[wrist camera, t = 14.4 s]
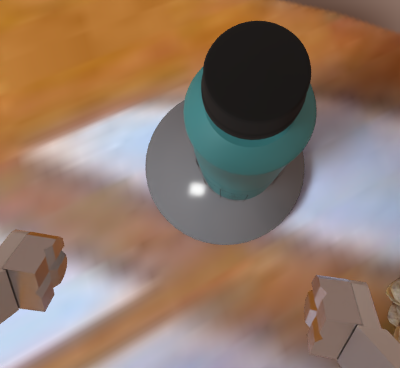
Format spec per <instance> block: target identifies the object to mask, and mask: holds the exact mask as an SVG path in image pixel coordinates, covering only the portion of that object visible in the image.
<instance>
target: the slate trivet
mask: <svg viewBox="0 0 400 368" xmlns="http://www.w3.org/2000/svg"><path fill="white" fill-rule="evenodd" d="M184 101H185V100H184ZM184 101H182V102H181V103H179V104H178V105H176V106H175V107H174V108H173V109H172V110H170V111H169V112H168V113H167V115H166V116H165V117H164V118H163V119H162V120H161V122H160V123H159V125H158V126H157V128H156V129H155V131H154V133H153V135H152V138H151V140H150V143H149V146H148V150H147V155H146V178H147V184H148V187H149V191H150V194H151V196H152V198H153V200H154V203H155V204H156V206H157V208H158V209H159V211H160V212H161V214H162V215H163V216H164V217H165V218H166V219H167V221H169V222H170V223H171V224H172V225H173V226H174V227H175V228H177V229H178V230H180V231H181V232H183V233H184V234H186V235H188V236H190V237H192V238H194V239H197V240H200V241H203V242H206V243H211V244H220V245H230V244H239V243H244V242H248V241H251V240H254V239H257V238H259V237H261V236H263V235H265V234H267V233H268V232H269V231H271V230H272V229H274V228H275V227H276V226H277V225H279V224H280V223H281V222H282V221H283V220H284V219H285V217H286V216H287V215H288V214H289V213H290V211H291V210H292V208H293V206H294V205H295V203H296V201H297V199H298V197H299V194H300V191H301V188H302V185H303V178H304V156H303V151H302V152H301V153H300V154H299V155H298V156H297V157H296V158H295V159H294V160H293V161H291V162H290V163H289V164H287V165H286V166H285V167H284V169H282V170H284V171H281V172H282V175H281V176H280V174H281V172H280V174H279V175H278V176H277V179H276V178H275V179H274V180H273V182H272V183H271V184H270V185H269V186H268V187H267V188H266V189H265V190H264V191H263V192H262V193H260V194H259V195H257V196H255V197H253V198H250V199H247V200H245V201H244V200H237V202H236V200H233V202H232V200H231V199H227V198H224V197H222V196H221V198H220V195H218V194H217V193H215V192H214V191H213V190H212V189H211V190H210V189H209V188H210V187H209V185H208V184H207V182H206V181H205V182H206V184H207V185H206V184H205V182H204V180H205V178H204V176H203V174H202V171H201V168H200V166H199V167H198V165H197V162H198V161H197V162H195V161H196V160H195V159H197V158H196V155H195V152H193V151H194V147H193V145H192V143H191V141H190V139H189V137H188V135H187V132H186V128H185V123H184V113H183V110H184ZM190 145H191V146H190ZM193 154H194V155H193ZM198 164H199V163H198ZM199 169H200V170H199ZM202 176H203V177H202ZM203 179H204V180H203ZM274 181H275V183H274ZM272 184H273V185H272ZM243 201H244V202H243Z"/></svg>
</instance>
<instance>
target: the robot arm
mask: <svg viewBox="0 0 400 368" xmlns="http://www.w3.org/2000/svg"><path fill="white" fill-rule="evenodd" d="M63 247H64V242H63V238H61V237H58V236H52V235H46V234H41V233H35V232H28V231H22V230H14V231H12V232H11V233H10V234H9V236H8V237H7V238H6V239H5V241H4V242H3V243H2V244H1V246H0V324H1V323H2V322H3V321H5V320H6V319H7V318H9V317H10V316H11V315H13V314H14V313H15V312H17V311H18V310H19V309H18V308H20V309H28V310H35V311H43V312H45V311H46V309H47V307H48V305H49V303H50V302H51V300H52V298H53V296H54V290H53V288H54V287H55V286H57V285H58V284H60V283H61V281H62V279H63V277H64V275H65V271H66V268H67V257H66V254H65V253H64V252H63V251H62V248H63ZM312 288H313V290H311V291H309V292H308V294H307V297H306V300H305V307H304V315H305V322H306V323H307V324H308V326H309V327H310V328H309V331H308V333H307V340H308V348H309V355H314V356H320V357H325V358H330V359H335V360H337V362H338V363H339V365H340V366H341V368H400V343H399V342H398V341H397V340H396V339H395V338H394V337H393V336H392V335H391V334H390V333H389V332H388V331H387V330H386V329H381V326H380V323H379V319H378V316H377V313H376V310H375V306H374V303H373V300H372V297H371V294H370V290H369V287H368V285H367V284H366V282H360V281H354V280H347V279H340V278H333V277H326V276H319V275H316V276H315V277H314V279H313V281H312Z"/></svg>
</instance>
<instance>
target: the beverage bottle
mask: <svg viewBox="0 0 400 368" xmlns="http://www.w3.org/2000/svg"><path fill="white" fill-rule="evenodd" d="M310 80H311V65H310V60H309V56H308V54H307V51H306V49H305V47H304V45H303V44H302V42H301V41H300V40H299V39H298V38H297V37H296V36H295V35H294V34H293V33H292V32H290V31H289V30H287V29H286V28H284V27H282V26H280V25H278V24H275V23H271V22H266V21H250V22H245V23H241V24H238V25H236V26H234V27H232V28H230V29H228V30H227V31H225V32H224V33H223V34H221V35H220V36H219V37H218V38H217V39H216V41H215V42H214V43H213V44H212V46H211V48H210V49H209V51H208V53H207V55H206V58H205V61H204V66H203V67H202V68H201V70H200V71H199V72H198V73H197V74H196V76H195V77H194V79H193V80H192V82H191V84H190V86H189V88H188V91H187V93H186V96H185V101H184V110H183V113H184V123H185V128H186V132H187V135H188V137H189V139H190V141H191V143H192V145H193V147H194V151H193V152H195V155H196V158H197V159H195V160H196V161H195V162H197V161H198V162H197V165H198V167H199V166H200V168H201V171H202V174H203V176H204V178H205V180H204V179H203V180H204V182H205V181H206V182H207V184H208V185H209V187H210V188H209V189H210V190H211V189H212V190H213V191H214V192H215V193H217V194H218V195H220V198H221V196H222V197H224V198H227V199H231V200H232V202H233V200H236V202H237V200H244V201H245V200H247V199H250V198H253V197H255V196H257V195H259V194H260V193H262V192H263V191H264V190H265V189H266V188H267V187H268V186H269V185H270V184H271V183H272V182H273V180H274V179H275V178H276V179H277V176H278V175H279V174H280V172H281V171H284V170H282V169H284V167H285V166H286V165H287V164H289V163H290V162H291V161H293V160H294V159H295V158H296V157H297V156H298V155H299V154H300V153H301V152H302V150H303V149H304V148H305V146H306V145H307V143H308V141H309V140H310V138H311V135H312V133H313V130H314V126H315V122H316V100H315V96H314V93H313V90H312V87H311V84H310ZM190 146H191V145H190ZM193 155H194V154H193ZM198 163H199V164H198ZM199 170H200V169H199ZM281 175H282V172H281V174H280V176H281ZM203 176H202V177H203ZM206 182H205V184H206ZM274 183H275V181H274ZM207 184H206V185H207ZM272 185H273V184H272ZM244 201H243V202H244Z"/></svg>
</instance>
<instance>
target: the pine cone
mask: <svg viewBox="0 0 400 368" xmlns="http://www.w3.org/2000/svg"><path fill="white" fill-rule="evenodd" d="M386 294H387V296H388V297H389V298H390V300H391V301H393V303H392V305H391V307H390V309H389V312H388V320H389V322H390V323H392V324H393V325H395V326H397V327H396V329H395V332H394V335H393V337H394V338H395V339H396V340H397V341H398V342H399V343H400V278H399V279H397V280H395V281H394V282H392V283H391V284H390V285H389V286H388V288H387V291H386Z"/></svg>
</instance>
